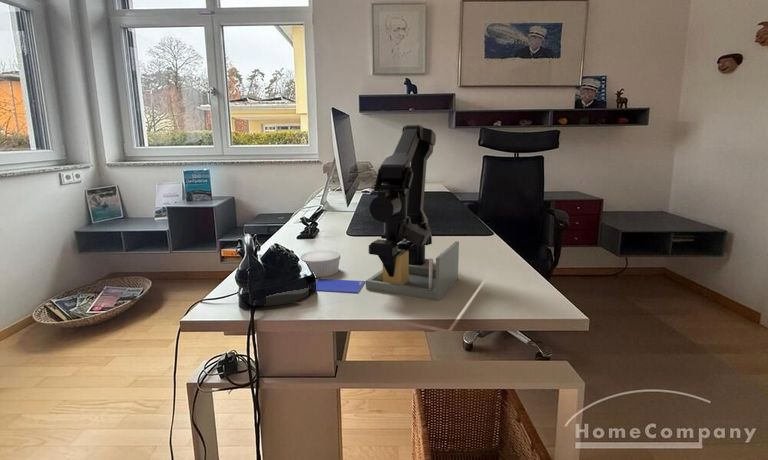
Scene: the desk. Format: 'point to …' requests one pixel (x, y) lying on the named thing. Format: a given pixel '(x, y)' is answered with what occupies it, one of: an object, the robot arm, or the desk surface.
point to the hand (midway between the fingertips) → (395, 273)
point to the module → (399, 269)
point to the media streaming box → (286, 297)
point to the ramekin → (322, 262)
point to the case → (424, 277)
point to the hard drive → (339, 286)
